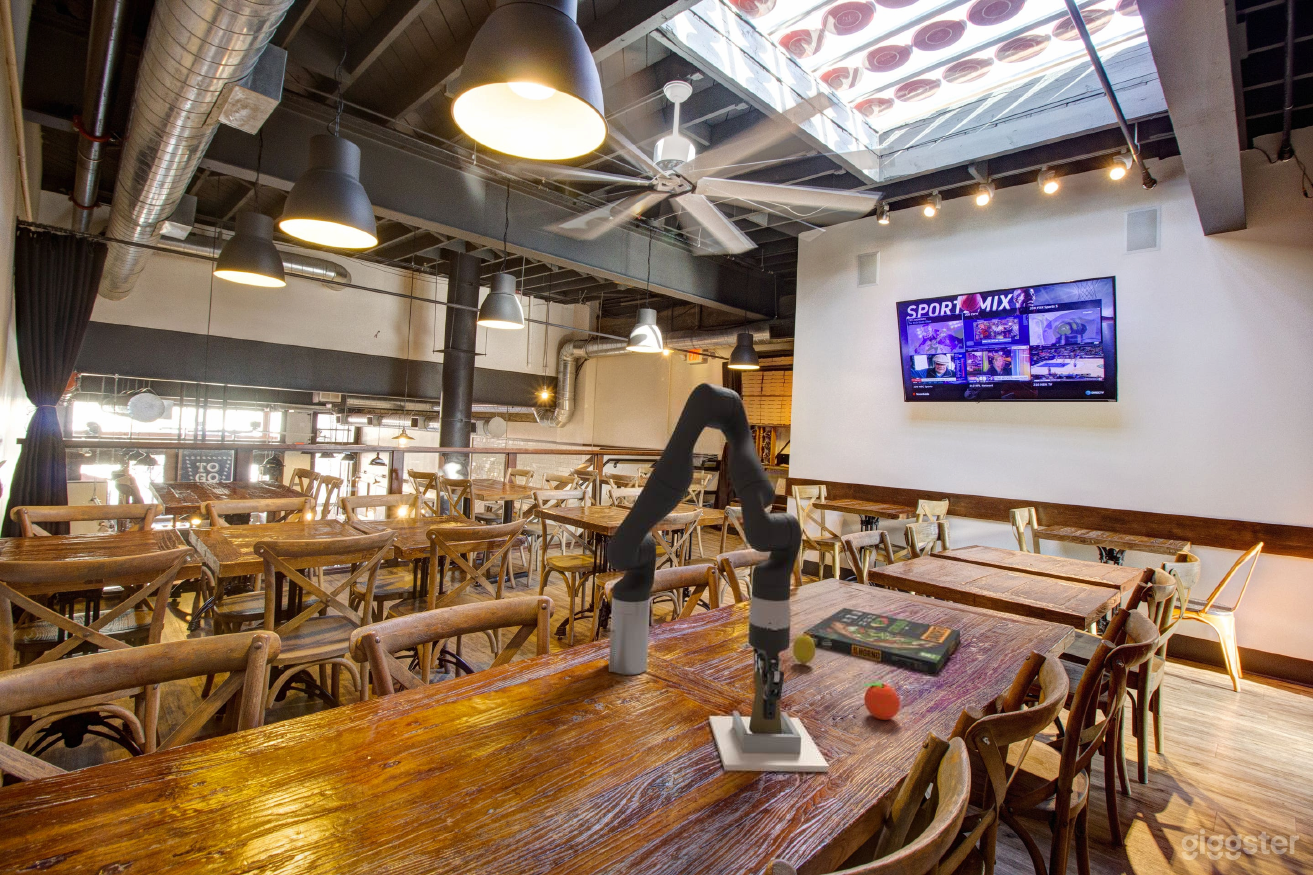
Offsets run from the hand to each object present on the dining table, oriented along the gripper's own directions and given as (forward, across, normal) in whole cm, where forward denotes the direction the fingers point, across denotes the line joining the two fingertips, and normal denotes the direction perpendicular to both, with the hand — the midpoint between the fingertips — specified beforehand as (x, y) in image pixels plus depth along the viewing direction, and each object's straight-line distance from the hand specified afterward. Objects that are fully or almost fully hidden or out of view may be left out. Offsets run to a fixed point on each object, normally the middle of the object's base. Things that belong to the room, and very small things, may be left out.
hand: (765, 712), depth 111 cm
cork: (+3, 0, 0) cm, 3 cm away
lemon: (+6, -41, +20) cm, 46 cm away
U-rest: (+6, 0, 0) cm, 6 cm away
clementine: (+6, -12, +27) cm, 30 cm away
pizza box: (+7, -61, +50) cm, 79 cm away
